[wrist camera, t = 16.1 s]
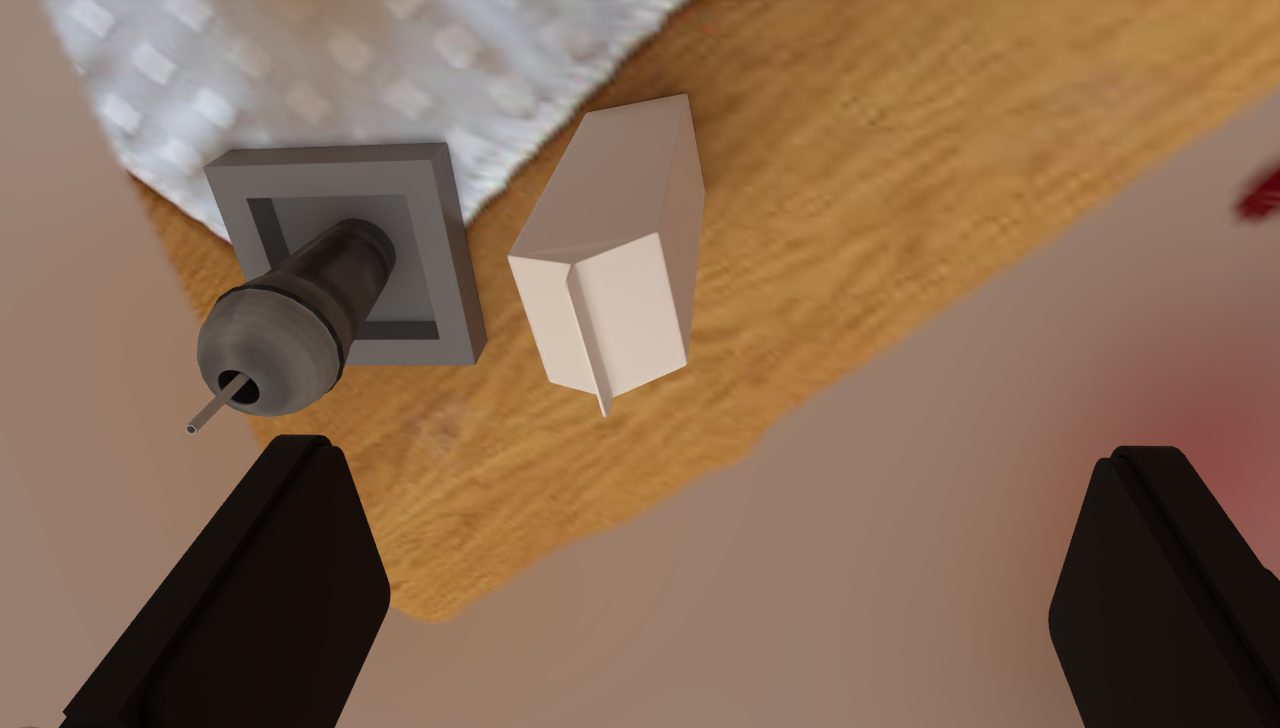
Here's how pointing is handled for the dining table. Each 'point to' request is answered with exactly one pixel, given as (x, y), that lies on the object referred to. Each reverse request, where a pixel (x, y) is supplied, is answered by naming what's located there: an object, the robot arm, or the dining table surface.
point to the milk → (616, 250)
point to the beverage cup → (293, 324)
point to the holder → (383, 195)
